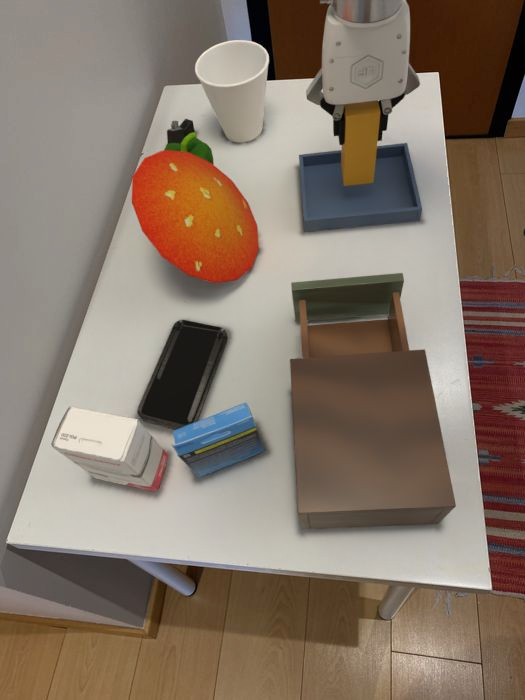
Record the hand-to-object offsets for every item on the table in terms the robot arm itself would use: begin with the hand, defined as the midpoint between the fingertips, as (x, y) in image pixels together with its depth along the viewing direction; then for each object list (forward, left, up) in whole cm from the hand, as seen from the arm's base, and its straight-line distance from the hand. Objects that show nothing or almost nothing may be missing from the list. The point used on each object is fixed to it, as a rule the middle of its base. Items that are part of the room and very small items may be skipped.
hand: (359, 135), depth 71 cm
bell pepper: (+26, -4, -11) cm, 28 cm away
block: (0, 0, -7) cm, 7 cm away
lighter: (+29, -15, -11) cm, 35 cm away
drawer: (+4, +30, -10) cm, 31 cm away
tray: (0, 0, -11) cm, 11 cm away
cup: (+18, -18, -11) cm, 28 cm away
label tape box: (+20, +41, -11) cm, 47 cm away
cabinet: (+4, +42, -11) cm, 44 cm away
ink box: (+32, +42, -11) cm, 54 cm away
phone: (+26, +30, -11) cm, 41 cm away
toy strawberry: (+23, +9, -11) cm, 27 cm away
